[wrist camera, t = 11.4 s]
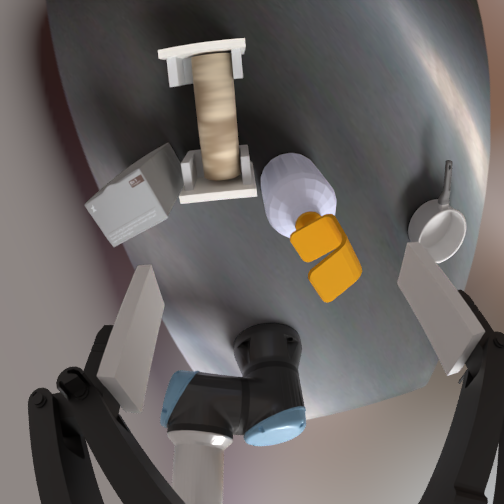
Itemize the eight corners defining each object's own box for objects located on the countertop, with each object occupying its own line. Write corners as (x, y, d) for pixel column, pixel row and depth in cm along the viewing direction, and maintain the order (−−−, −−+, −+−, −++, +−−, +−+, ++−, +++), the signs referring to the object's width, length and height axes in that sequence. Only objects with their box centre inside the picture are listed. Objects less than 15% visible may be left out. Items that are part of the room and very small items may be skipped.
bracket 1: (177, 55, 34) (157, 50, 25) (243, 47, 34) (244, 38, 25) (180, 85, 36) (162, 88, 27) (245, 77, 36) (248, 77, 27)
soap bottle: (248, 172, 44) (259, 272, 24) (301, 141, 42) (363, 216, 21) (278, 216, 48) (308, 333, 28) (328, 188, 46) (393, 290, 26)
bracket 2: (252, 167, 44) (257, 196, 35) (192, 173, 44) (180, 203, 35) (250, 139, 41) (254, 159, 32) (188, 145, 41) (174, 168, 32)
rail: (223, 166, 39) (248, 171, 37) (196, 176, 37) (221, 183, 34) (213, 57, 31) (240, 52, 28) (183, 59, 28) (208, 53, 26)
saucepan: (455, 149, 42) (474, 159, 37) (447, 241, 53) (461, 256, 48) (404, 154, 43) (422, 165, 38) (402, 252, 54) (414, 269, 49)
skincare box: (147, 199, 46) (114, 255, 32) (124, 162, 42) (78, 206, 29) (192, 175, 44) (172, 225, 31) (169, 135, 40) (135, 168, 27)
